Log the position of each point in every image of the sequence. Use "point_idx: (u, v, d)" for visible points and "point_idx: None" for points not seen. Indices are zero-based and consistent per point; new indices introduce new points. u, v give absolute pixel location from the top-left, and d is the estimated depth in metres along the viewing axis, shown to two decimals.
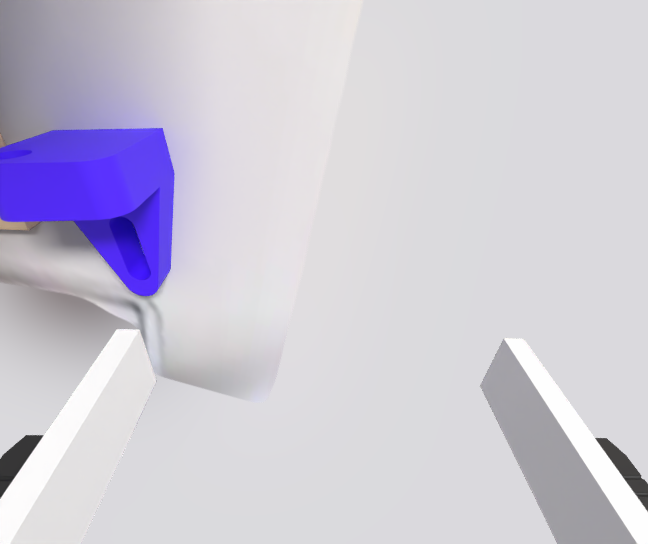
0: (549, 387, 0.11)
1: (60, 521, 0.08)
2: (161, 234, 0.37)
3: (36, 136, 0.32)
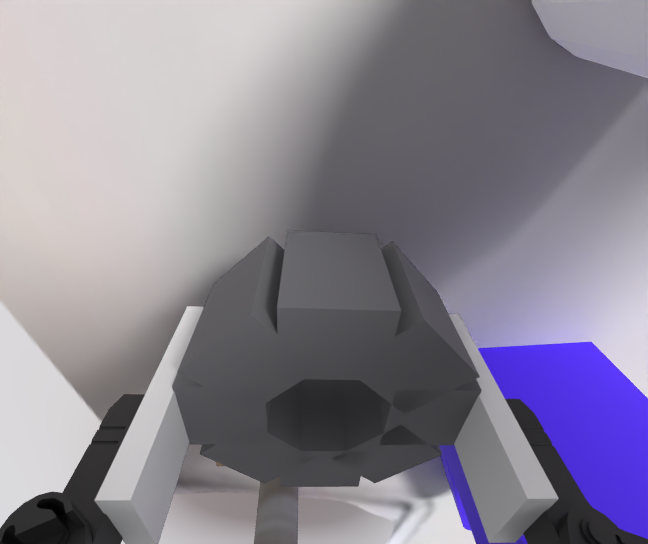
0: (472, 354, 0.11)
1: (165, 464, 0.09)
2: None
3: None
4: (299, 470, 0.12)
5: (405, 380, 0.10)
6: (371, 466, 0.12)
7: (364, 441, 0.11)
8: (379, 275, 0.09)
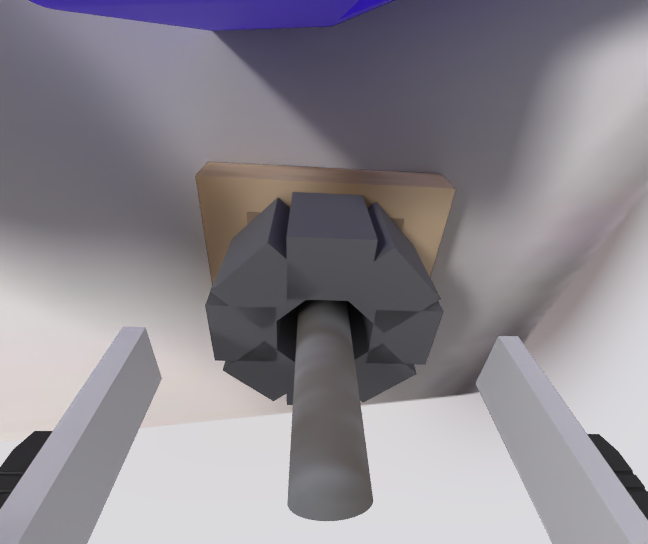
0: (542, 384, 0.11)
1: (69, 515, 0.08)
2: None
3: None
4: None
5: (383, 301, 0.13)
6: (360, 384, 0.15)
7: None
8: (363, 220, 0.12)
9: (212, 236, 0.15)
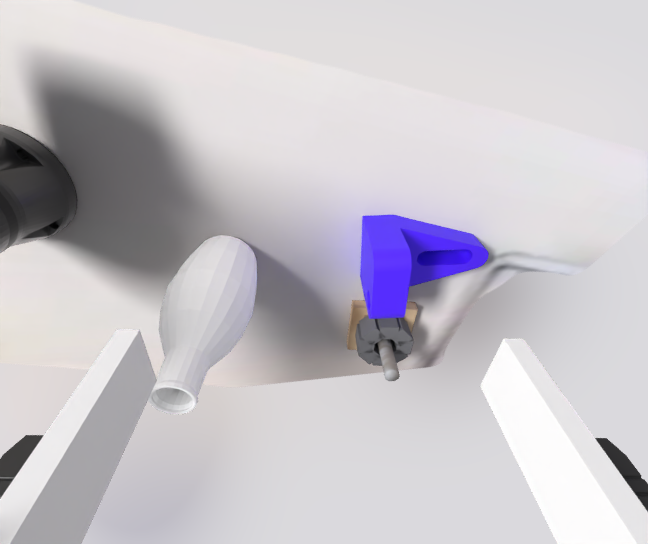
0: (549, 387, 0.11)
1: (60, 521, 0.08)
2: (437, 234, 0.48)
3: (362, 285, 0.53)
4: (377, 360, 0.58)
5: (400, 339, 0.55)
6: None
7: None
8: (395, 321, 0.55)
9: (353, 320, 0.58)
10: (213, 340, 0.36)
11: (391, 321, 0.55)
